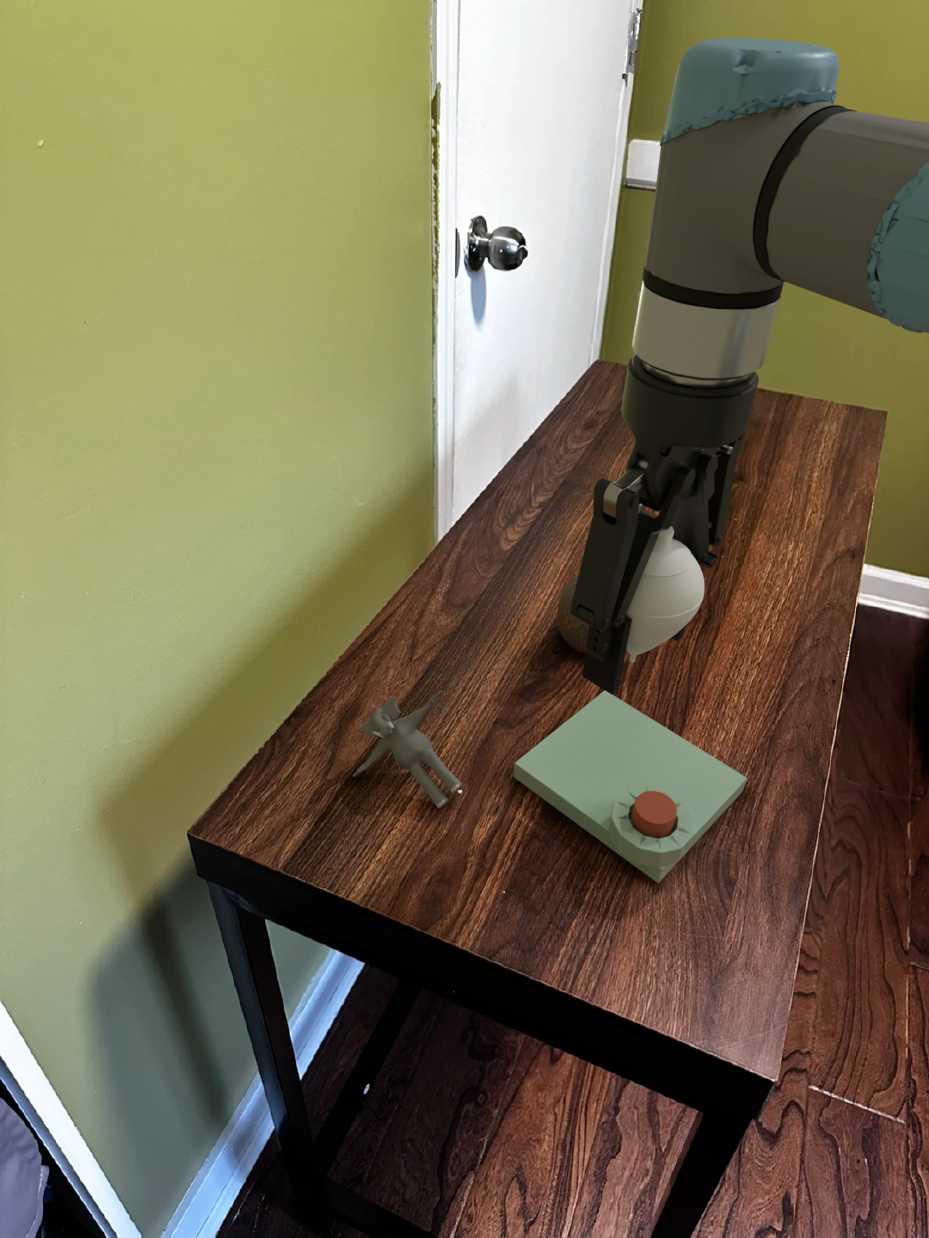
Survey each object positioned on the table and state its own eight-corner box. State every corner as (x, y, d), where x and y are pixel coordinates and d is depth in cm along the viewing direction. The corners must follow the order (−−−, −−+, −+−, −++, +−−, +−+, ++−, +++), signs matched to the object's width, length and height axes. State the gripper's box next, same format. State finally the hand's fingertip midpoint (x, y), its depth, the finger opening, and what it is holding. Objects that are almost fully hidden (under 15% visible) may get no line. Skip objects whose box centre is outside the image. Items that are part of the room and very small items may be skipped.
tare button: (681, 820, 62) (685, 807, 61) (657, 844, 61) (661, 831, 60) (646, 797, 64) (650, 783, 63) (623, 820, 62) (626, 806, 61)
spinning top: (608, 617, 69) (631, 486, 61) (698, 653, 65) (735, 520, 58) (562, 670, 63) (582, 534, 56) (658, 712, 60) (692, 575, 53)
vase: (543, 651, 81) (552, 577, 76) (568, 611, 86) (577, 538, 81) (613, 674, 79) (627, 599, 74) (634, 631, 84) (649, 558, 78)
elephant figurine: (392, 845, 64) (319, 754, 66) (418, 836, 70) (350, 753, 72) (488, 754, 63) (410, 665, 65) (506, 753, 68) (434, 671, 71)
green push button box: (747, 794, 68) (758, 765, 66) (655, 895, 61) (664, 866, 59) (602, 703, 76) (607, 674, 74) (505, 783, 69) (507, 753, 66)
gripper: (729, 304, 57) (668, 577, 72) (530, 391, 46) (504, 698, 60) (835, 335, 54) (748, 618, 68) (646, 440, 42) (589, 755, 56)
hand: (633, 655), depth 64 cm, fingers closed on spinning top, 8 cm apart
